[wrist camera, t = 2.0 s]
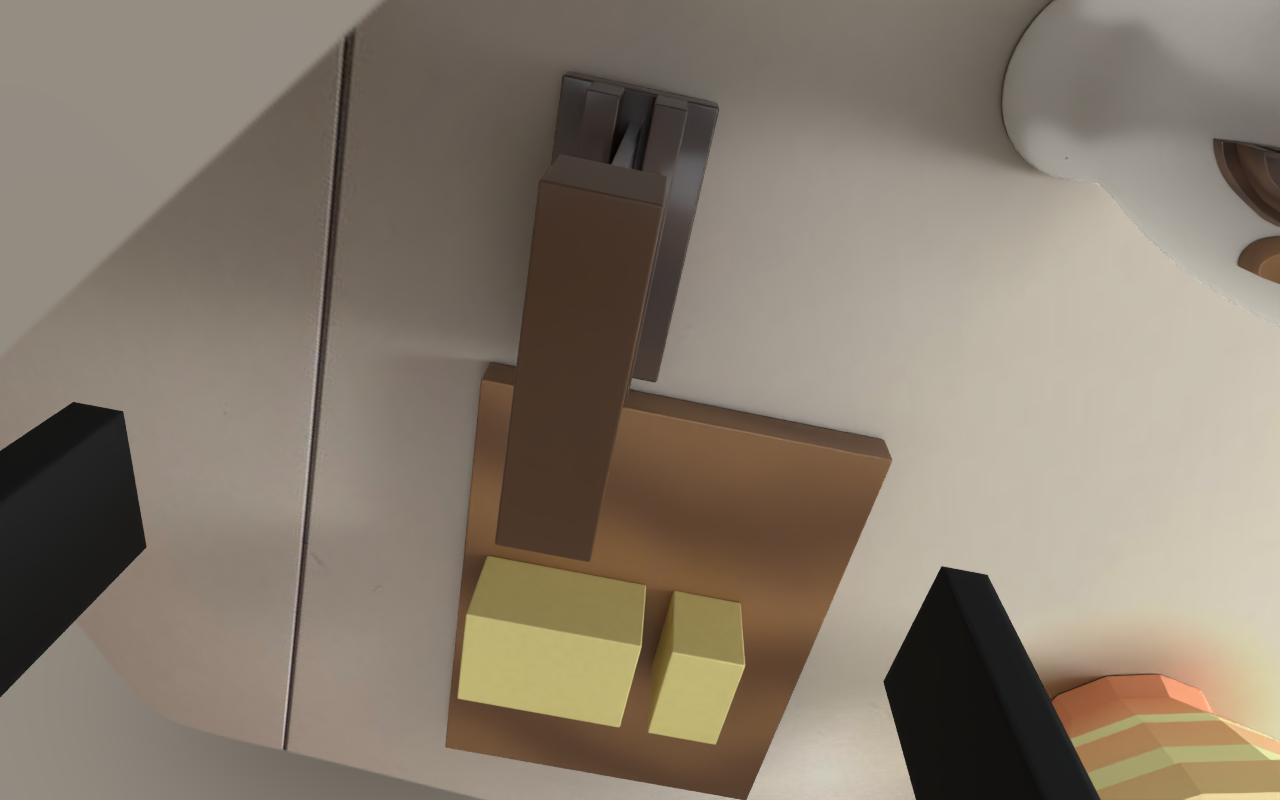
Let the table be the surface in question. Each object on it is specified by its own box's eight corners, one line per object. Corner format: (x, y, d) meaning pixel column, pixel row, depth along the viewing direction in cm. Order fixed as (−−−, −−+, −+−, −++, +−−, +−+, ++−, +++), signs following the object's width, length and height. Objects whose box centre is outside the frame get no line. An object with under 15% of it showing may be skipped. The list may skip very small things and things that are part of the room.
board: (490, 361, 30) (480, 379, 28) (884, 439, 30) (893, 460, 29) (452, 723, 40) (444, 747, 39) (744, 775, 41) (746, 801, 40)
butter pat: (673, 589, 33) (671, 652, 30) (740, 602, 33) (745, 665, 30) (651, 668, 35) (647, 733, 32) (713, 679, 35) (715, 745, 32)
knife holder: (567, 70, 24) (551, 81, 22) (718, 103, 24) (722, 117, 22) (530, 346, 29) (514, 382, 26) (657, 371, 29) (654, 409, 27)
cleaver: (601, 99, 24) (538, 179, 14) (675, 115, 24) (664, 205, 14) (561, 352, 28) (493, 545, 18) (625, 365, 28) (590, 563, 19)
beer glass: (1023, -58, 22) (1520, -118, 9) (1268, -44, 22) (2152, -83, 9) (960, 185, 25) (1250, 404, 12) (1172, 199, 25) (1698, 437, 12)
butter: (486, 554, 32) (465, 614, 29) (646, 584, 33) (642, 646, 30) (477, 636, 35) (456, 699, 32) (625, 663, 35) (619, 728, 32)
